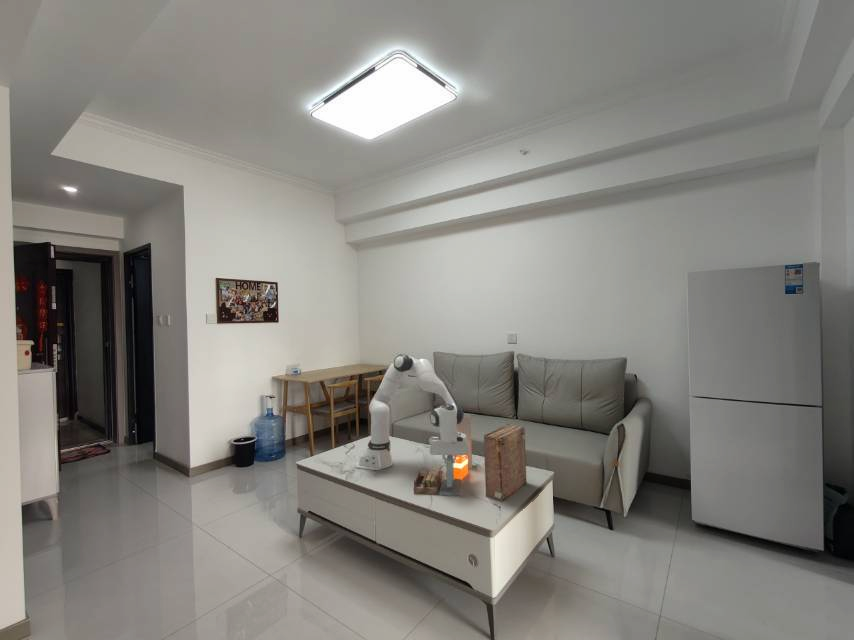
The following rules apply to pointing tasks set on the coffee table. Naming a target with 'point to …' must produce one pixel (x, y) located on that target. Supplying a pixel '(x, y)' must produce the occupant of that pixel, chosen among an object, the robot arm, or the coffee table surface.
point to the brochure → (466, 429)
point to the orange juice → (460, 466)
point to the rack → (425, 489)
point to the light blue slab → (449, 470)
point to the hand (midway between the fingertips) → (449, 462)
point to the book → (504, 461)
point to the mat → (450, 488)
